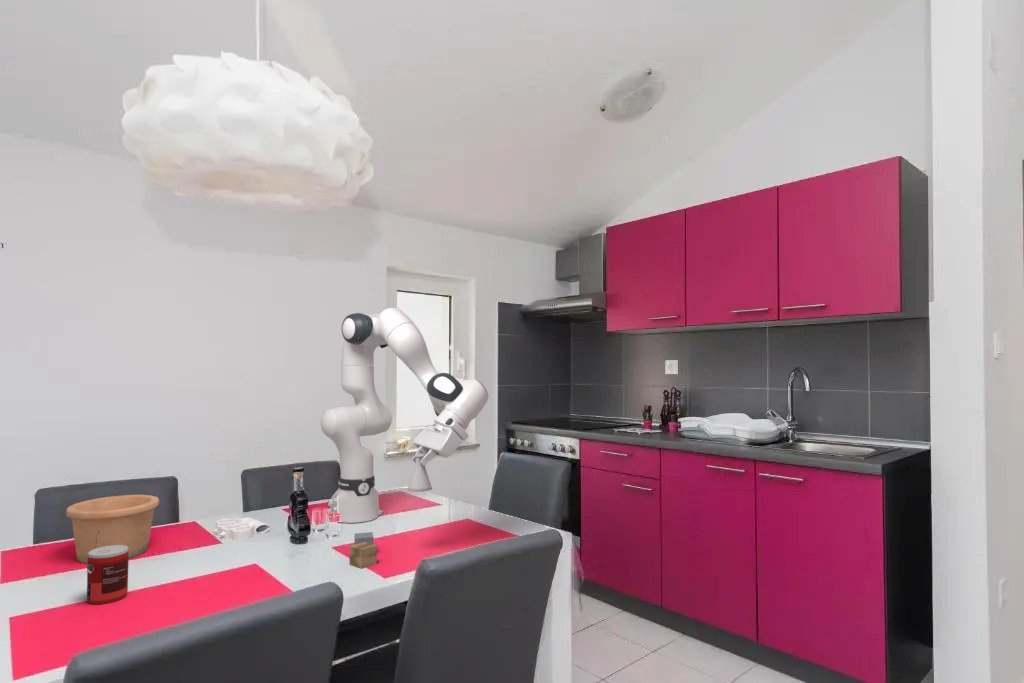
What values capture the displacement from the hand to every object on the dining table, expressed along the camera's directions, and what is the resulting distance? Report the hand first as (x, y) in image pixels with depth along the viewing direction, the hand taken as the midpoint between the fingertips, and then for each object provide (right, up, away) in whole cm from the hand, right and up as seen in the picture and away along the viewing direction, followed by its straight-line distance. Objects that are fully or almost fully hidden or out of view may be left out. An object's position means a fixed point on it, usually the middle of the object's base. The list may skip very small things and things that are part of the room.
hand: (417, 462), depth 170 cm
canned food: (-66, -25, -33) cm, 78 cm away
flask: (+1, -8, 0) cm, 8 cm away
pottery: (-86, -26, -2) cm, 90 cm away
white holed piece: (-60, -27, +19) cm, 68 cm away
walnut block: (-13, -25, -11) cm, 30 cm away
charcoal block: (-15, -25, -1) cm, 30 cm away
